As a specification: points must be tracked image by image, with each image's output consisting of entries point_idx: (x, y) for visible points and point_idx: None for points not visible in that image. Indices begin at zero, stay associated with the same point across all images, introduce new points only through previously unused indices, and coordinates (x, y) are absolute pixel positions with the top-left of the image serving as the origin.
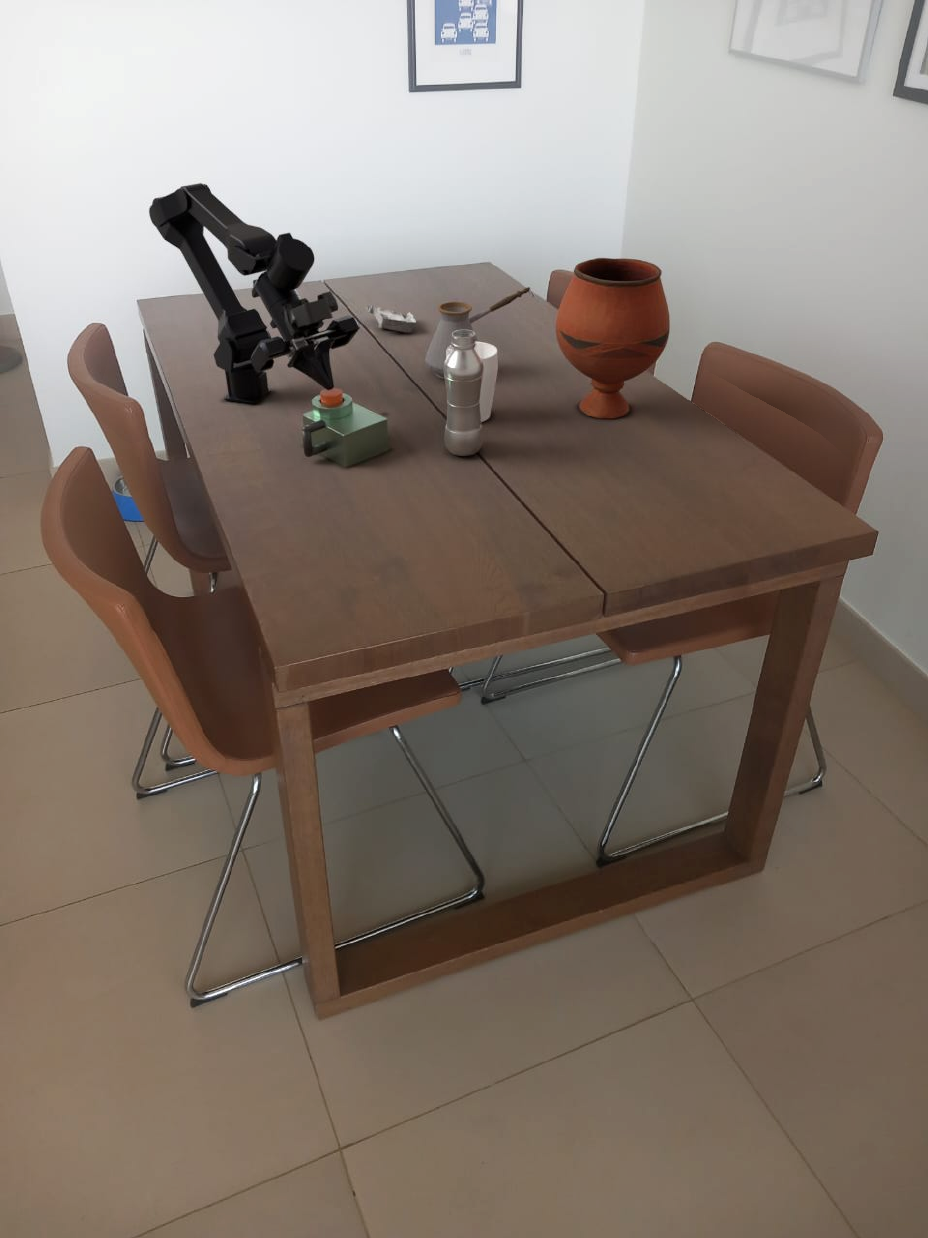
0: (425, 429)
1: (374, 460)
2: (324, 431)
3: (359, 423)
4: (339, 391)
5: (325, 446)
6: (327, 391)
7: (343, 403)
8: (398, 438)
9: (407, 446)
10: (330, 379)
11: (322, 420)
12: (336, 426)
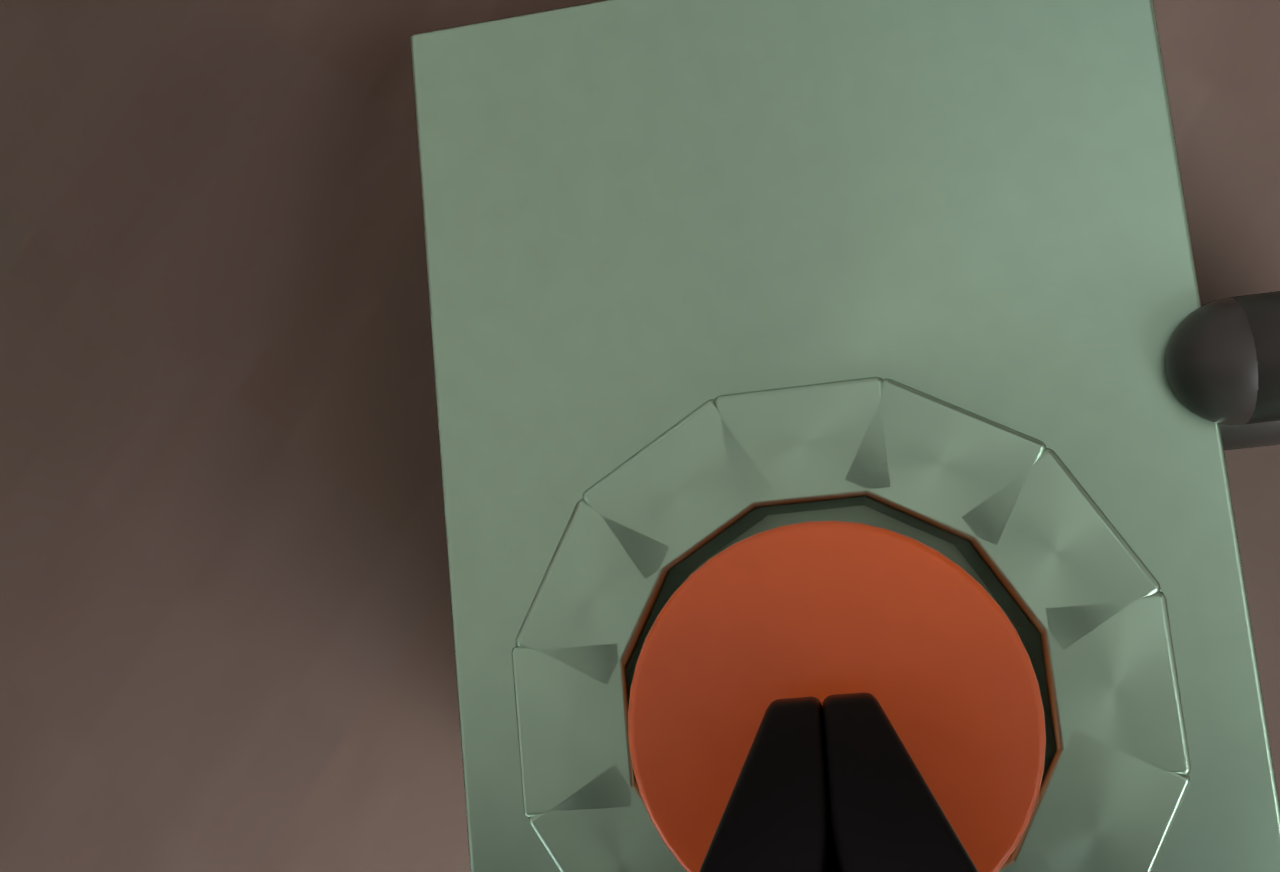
0: (31, 356)
1: None
2: None
3: (765, 103)
4: (698, 641)
5: None
6: None
7: (749, 479)
8: (315, 344)
9: (350, 155)
10: (795, 800)
11: (1237, 332)
12: (1074, 194)
